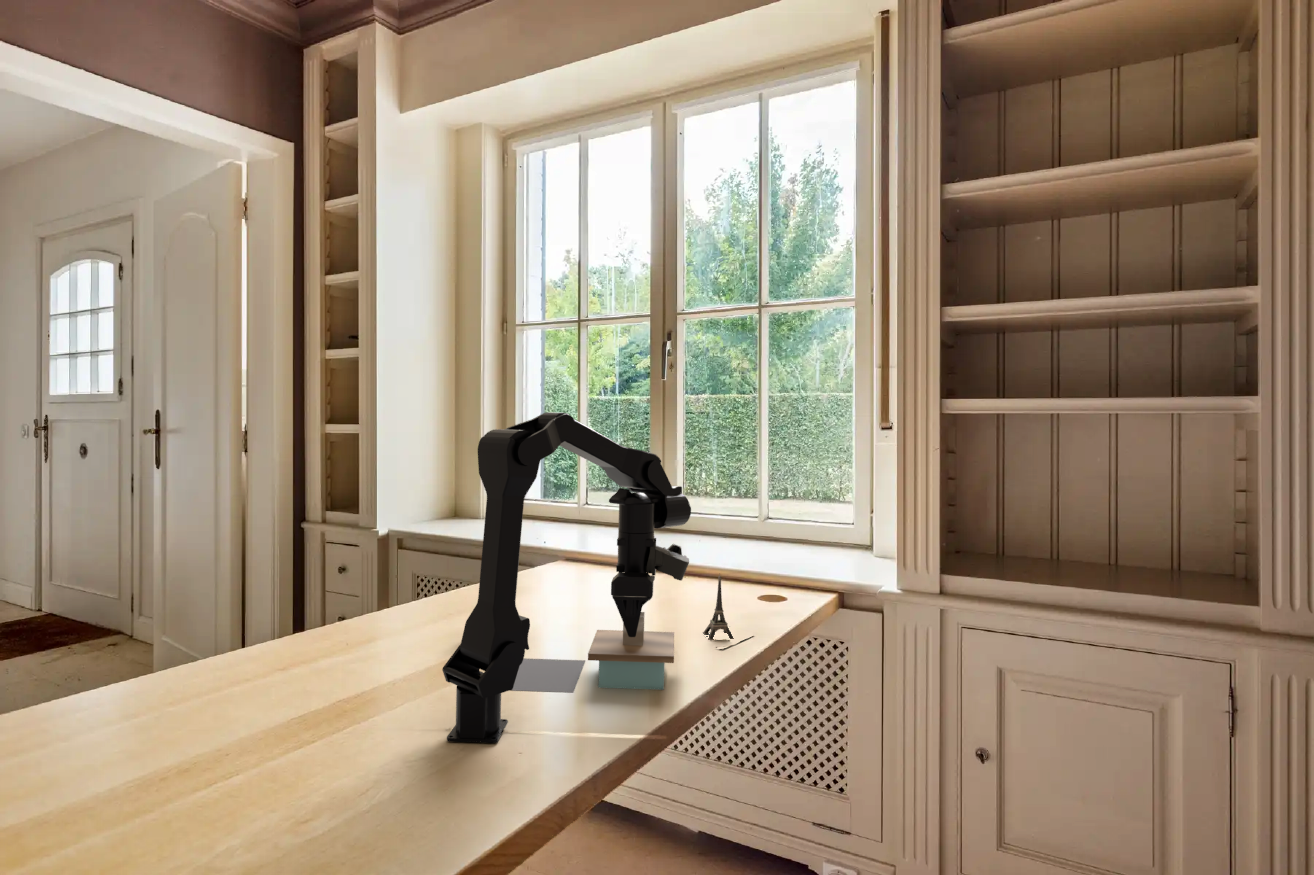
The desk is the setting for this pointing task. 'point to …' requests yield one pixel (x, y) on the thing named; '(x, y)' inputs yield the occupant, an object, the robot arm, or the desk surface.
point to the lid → (633, 645)
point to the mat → (548, 675)
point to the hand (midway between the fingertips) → (633, 628)
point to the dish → (631, 675)
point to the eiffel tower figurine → (716, 623)
